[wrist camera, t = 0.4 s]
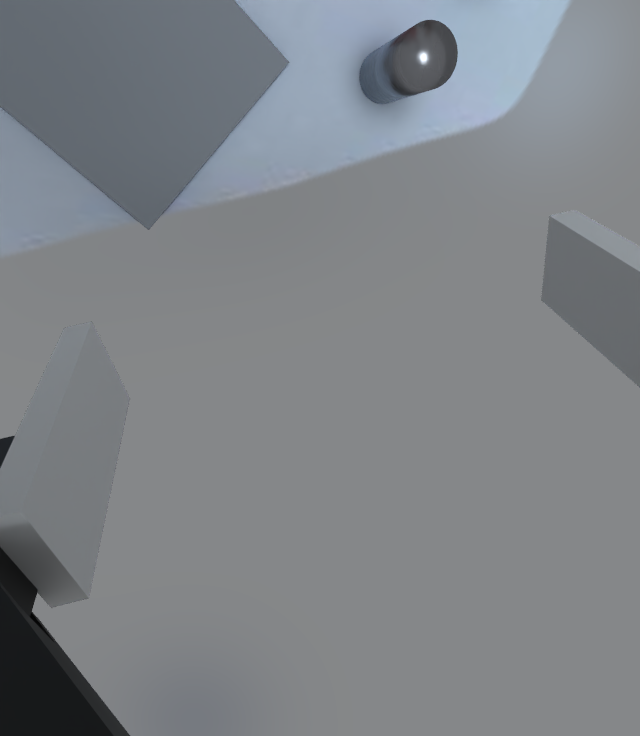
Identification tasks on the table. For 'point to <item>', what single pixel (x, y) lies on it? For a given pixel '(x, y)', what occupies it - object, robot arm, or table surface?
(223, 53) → the slate mat
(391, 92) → the spacer field
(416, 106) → the table surface
